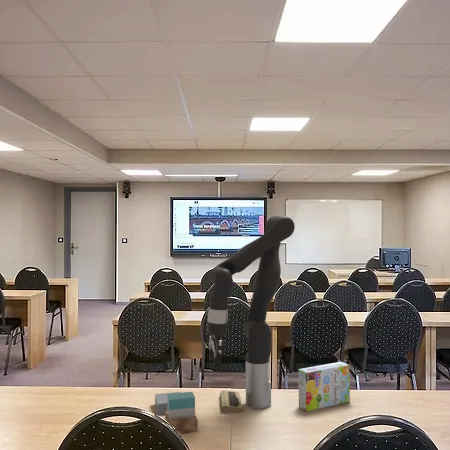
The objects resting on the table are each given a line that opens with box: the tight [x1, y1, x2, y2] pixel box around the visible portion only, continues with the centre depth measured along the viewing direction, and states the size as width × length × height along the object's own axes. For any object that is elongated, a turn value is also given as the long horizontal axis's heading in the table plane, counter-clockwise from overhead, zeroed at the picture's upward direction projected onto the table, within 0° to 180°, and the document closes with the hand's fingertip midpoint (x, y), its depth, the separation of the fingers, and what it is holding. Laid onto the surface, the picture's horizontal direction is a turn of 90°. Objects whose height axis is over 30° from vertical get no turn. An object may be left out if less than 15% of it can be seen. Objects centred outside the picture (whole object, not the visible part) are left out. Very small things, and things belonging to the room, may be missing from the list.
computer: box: [219, 390, 244, 414], centre depth 176 cm, size 16×8×3 cm, turn 2°
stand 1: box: [154, 391, 182, 416], centre depth 172 cm, size 10×10×4 cm
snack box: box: [297, 361, 351, 412], centre depth 175 cm, size 21×6×15 cm, turn 115°
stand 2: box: [164, 411, 199, 435], centre depth 156 cm, size 10×10×4 cm
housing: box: [167, 391, 196, 420], centre depth 156 cm, size 9×6×7 cm, turn 104°
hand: (214, 363), depth 168 cm, fingers open, 8 cm apart
